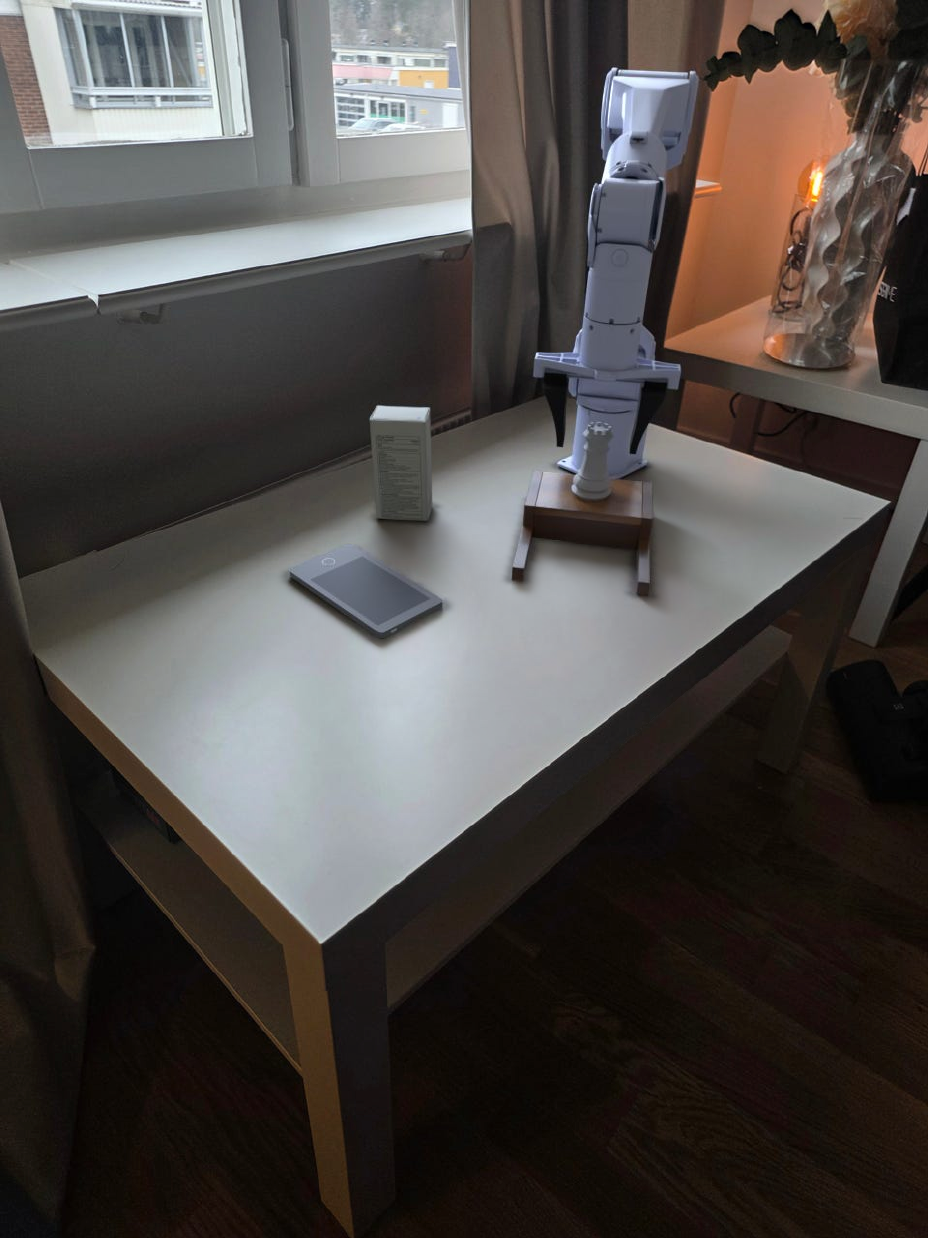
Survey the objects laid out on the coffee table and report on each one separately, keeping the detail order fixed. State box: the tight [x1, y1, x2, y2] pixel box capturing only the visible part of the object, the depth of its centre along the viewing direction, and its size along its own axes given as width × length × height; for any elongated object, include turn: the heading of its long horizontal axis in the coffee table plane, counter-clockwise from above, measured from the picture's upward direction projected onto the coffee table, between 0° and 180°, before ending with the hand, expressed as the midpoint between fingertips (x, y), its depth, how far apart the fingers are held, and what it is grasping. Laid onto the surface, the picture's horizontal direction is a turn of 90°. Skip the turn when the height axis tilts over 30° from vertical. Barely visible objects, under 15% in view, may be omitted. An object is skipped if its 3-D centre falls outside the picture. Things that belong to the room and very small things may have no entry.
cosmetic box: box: [369, 405, 433, 522], centre depth 95 cm, size 6×4×12 cm
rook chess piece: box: [572, 422, 613, 501], centre depth 92 cm, size 4×4×8 cm
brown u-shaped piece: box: [511, 470, 654, 596], centre depth 92 cm, size 18×14×4 cm
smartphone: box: [289, 543, 443, 639], centre depth 84 cm, size 15×8×1 cm, turn 44°
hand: (596, 446), depth 89 cm, fingers open, 7 cm apart
